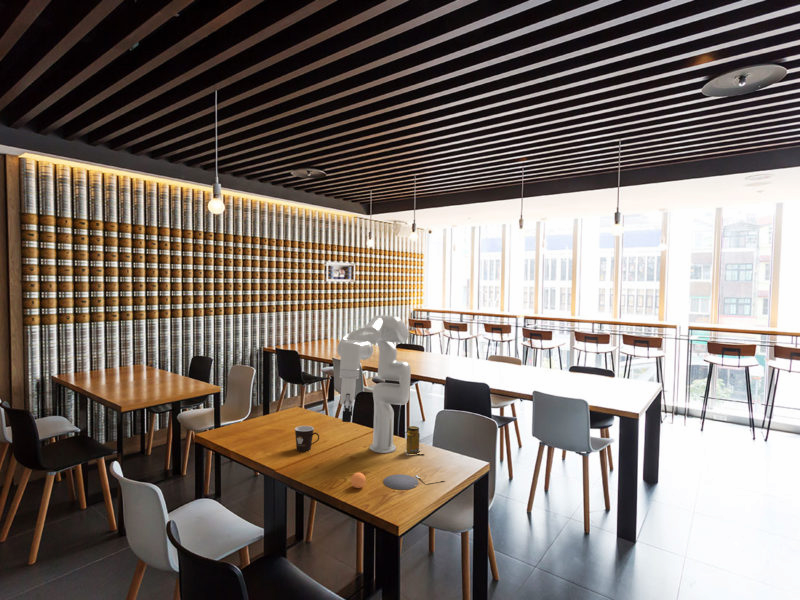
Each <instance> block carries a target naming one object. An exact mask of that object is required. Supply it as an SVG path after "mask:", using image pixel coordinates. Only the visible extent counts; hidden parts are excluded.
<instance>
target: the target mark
mask: <svg viewBox="0 0 800 600" xmlns="http://www.w3.org/2000/svg"><path fill="white" fill-rule="evenodd" d="M418 481H419V479H418V478H417V477H415V476H412V475H408V474H398V473H397V474H391V475H388V476H387V477H384V479H383V484H384V485H385V486H386V487H388V488H390V489H393V490H399V491H404V490H406V491H407V489H408V490H412V488H413V489H415V488H417V487H416V486H415V485H418V484H419V485H420V482H419V483H418ZM419 485H418V486H419ZM414 487H415V488H414Z"/></svg>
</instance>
